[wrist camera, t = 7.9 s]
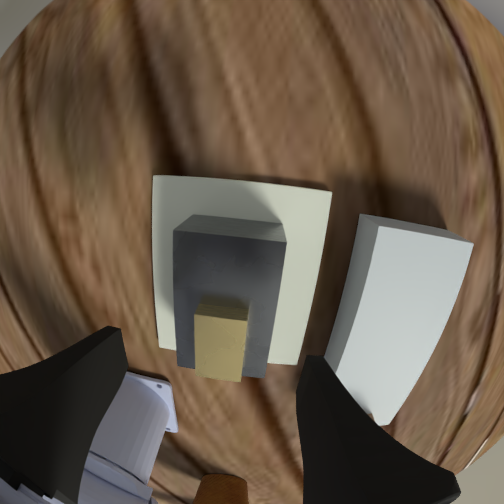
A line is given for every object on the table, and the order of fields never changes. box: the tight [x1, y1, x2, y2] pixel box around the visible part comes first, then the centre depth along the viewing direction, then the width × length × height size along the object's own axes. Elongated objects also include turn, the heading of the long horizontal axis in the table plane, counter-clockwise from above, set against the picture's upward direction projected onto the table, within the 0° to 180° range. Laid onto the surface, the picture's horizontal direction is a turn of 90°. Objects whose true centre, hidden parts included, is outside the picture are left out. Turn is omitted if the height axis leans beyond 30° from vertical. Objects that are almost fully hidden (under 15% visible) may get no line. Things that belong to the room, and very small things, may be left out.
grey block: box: [173, 214, 287, 382], centre depth 14 cm, size 5×8×4 cm, turn 174°
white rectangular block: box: [324, 214, 474, 426], centre depth 15 cm, size 7×16×6 cm, turn 174°
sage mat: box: [152, 175, 332, 365], centre depth 17 cm, size 10×12×1 cm
